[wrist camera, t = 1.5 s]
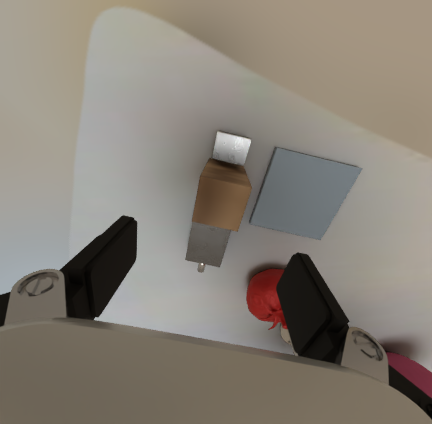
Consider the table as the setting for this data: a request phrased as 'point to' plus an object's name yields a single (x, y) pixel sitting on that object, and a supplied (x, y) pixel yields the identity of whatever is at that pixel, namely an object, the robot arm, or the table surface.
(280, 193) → the pad
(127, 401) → the robot arm
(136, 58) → the table surface
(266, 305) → the pomegranate
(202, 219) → the walnut peg
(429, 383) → the pink dragon fruit
